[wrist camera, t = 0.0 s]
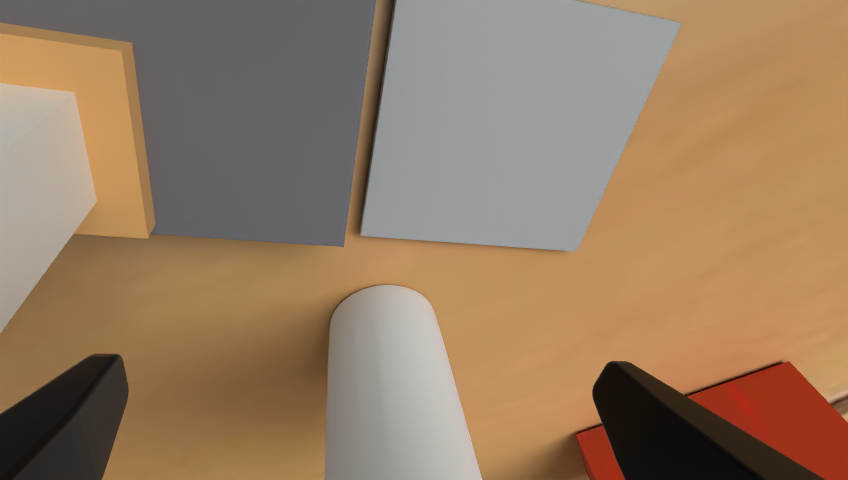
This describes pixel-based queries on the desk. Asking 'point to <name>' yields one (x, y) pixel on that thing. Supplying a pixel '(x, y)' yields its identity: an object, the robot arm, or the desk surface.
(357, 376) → the mug
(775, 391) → the file binder
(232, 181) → the gray slab with hole
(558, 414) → the desk surface
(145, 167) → the white and tan block
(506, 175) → the mat
